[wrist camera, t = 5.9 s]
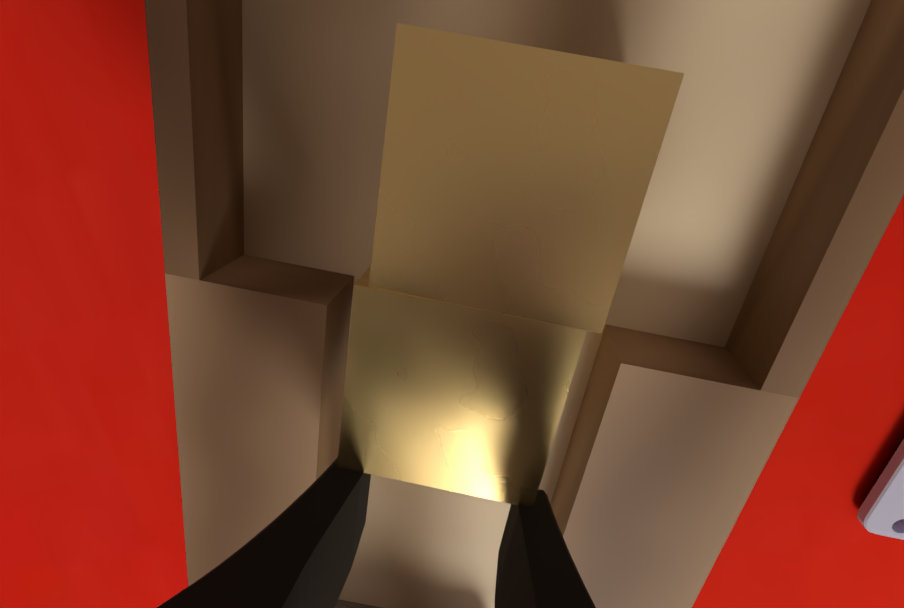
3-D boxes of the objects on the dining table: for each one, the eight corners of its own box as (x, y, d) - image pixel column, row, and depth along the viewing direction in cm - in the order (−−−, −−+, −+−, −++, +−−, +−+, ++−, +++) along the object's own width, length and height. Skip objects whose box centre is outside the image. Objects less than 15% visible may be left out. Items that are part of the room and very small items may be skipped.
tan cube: (564, 259, 12) (586, 330, 8) (527, 397, 14) (532, 508, 10) (401, 228, 12) (353, 284, 9) (384, 368, 14) (336, 467, 10)
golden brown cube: (625, 81, 10) (684, 73, 7) (576, 261, 12) (601, 333, 8) (438, 48, 11) (396, 22, 7) (413, 229, 12) (368, 287, 9)
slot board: (957, -164, 9) (1144, -276, 6) (572, 723, 20) (581, 821, 18) (226, -265, 10) (114, -404, 7) (241, 645, 21) (199, 728, 18)
